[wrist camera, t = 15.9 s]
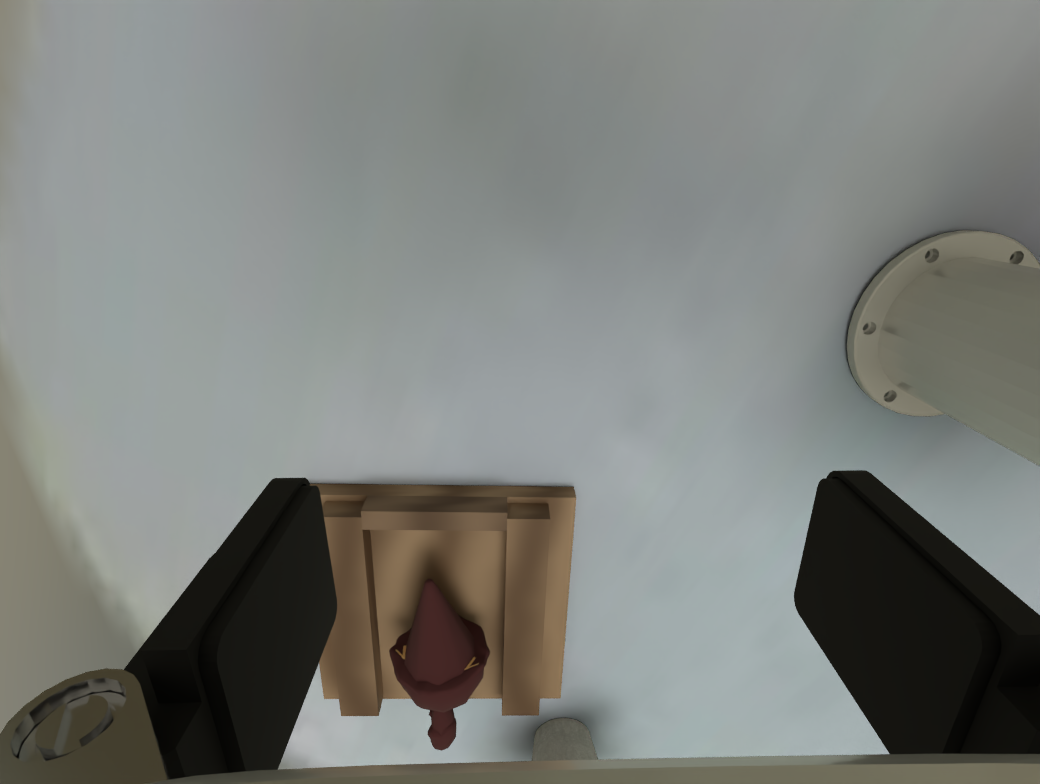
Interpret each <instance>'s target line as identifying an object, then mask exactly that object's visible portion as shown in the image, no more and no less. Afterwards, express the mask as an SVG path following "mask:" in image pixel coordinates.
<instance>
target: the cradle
mask: <svg viewBox="0 0 1040 784" xmlns="http://www.w3.org/2000/svg"><path fill="white" fill-rule="evenodd" d="M310 486H317V487H318V488H319V491H320V496H321V502H322V508H323V514H324V521H325V527H326V533H327V540H328V546H329V552H330V559H331V565H332V571H333V578H334V584H335V590H336V597H337V614H336V619H335V622H334V625H333V627H332V630H331V632H330V635H329V638H328V640H327V643H326V645H325V648H324V651H323V653H322V656H321V658H320V661H319V664H320V672H321V679H322V687H323V694H324V699H339V702H340V710H341V716H379V712H380V708H381V703H382V699H411V697H410V696H409V695H408V693H407V692H406V691H405V690H404V689H403V687H402V686H401V684H400V683H399V682H398V681H397V679H396V676H395V673H394V667H393V664H392V661H391V658H390V653H389V650H390V648H391V647H393V646H394V645H395V644H396V640H397V638H398V637H399V636H400V635H402V634H404V633H405V632H407V631H408V630H409V629H410V628H411V627H412V624H413V621H414V617H415V614H416V610H417V607H418V604H419V600H420V597H421V593H422V589H423V586H424V583H425V581H426V580H427V579H432V580H433V581H434V582H435V583H436V585H437V586H438V587H439V589H440V590H441V592H442V593H443V595H444V596H445V598H446V599H447V601H448V602H449V603H450V605H451V606H452V608H453V609H454V610H455V612H456V613H457V614H458V615H459V616H461V617H463V618H464V619H466V620H469V621H471V622H473V623H476V624H477V625H479V626H481V628H482V629H483V631H484V635H485V639H486V643H487V646H488V648H489V650H490V655H489V657H488V659H487V664H486V666H485V667H484V675H483V679H482V680H481V682H480V683H479V685H478V686H477V688H476V689H475V690H474V692H473V693H472V695H471V696H470V698H502V715H539V702H540V698H560V696H561V684H562V671H563V658H564V646H565V633H566V620H567V607H568V595H569V582H570V569H571V557H572V544H573V531H574V519H575V506H576V495H575V490H574V487H542V486H459V485H376V484H310Z"/></svg>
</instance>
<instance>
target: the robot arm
mask: <svg viewBox="0 0 1040 784" xmlns="http://www.w3.org/2000/svg"><path fill="white" fill-rule="evenodd" d="M847 354H848V362H849V365H850V368H851V372H852V375H853V377H854V378H855V380H856V382H857V383H858V385H859V386H860V388H861V389H862V390H863V391H864V392H865V393H866V394H867V395H868V396H869V397H870V398H871V399H873V400H874V401H876V402H877V403H879V404H880V405H882V406H884V407H886V408H888V409H890V410H892V411H895V412H897V413H900V414H905V415H910V416H936V415H943V414H946V415H948V416H950V417H952V418H953V419H955V420H957V421H959V422H961V423H962V424H964V425H966V426H968V427H970V428H971V429H973V430H975V431H977V432H979V433H980V434H982V435H984V436H986V437H988V438H989V439H991V440H993V441H995V442H997V443H998V444H1000V445H1002V446H1004V447H1006V448H1008V449H1009V450H1011V451H1013V452H1015V453H1017V454H1018V455H1020V456H1022V457H1024V458H1026V459H1027V460H1029V461H1031V462H1033V463H1035V464H1036V465H1038V466H1040V264H1039V262H1038V260H1037V259H1036V258H1035V257H1034V256H1033V254H1032V253H1031V252H1030V251H1029V249H1027V248H1026V247H1024V246H1023V245H1022V244H1020V243H1019V242H1017V241H1016V240H1014V239H1011V238H1009V237H1006V236H1004V235H1001V234H997V233H991V232H985V231H969V230H961V231H955V232H949V233H943V234H940V235H937V236H934V237H931V238H929V239H926V240H923V241H921V242H920V243H918V244H916V245H914V246H912V247H910V248H909V249H907V250H905V251H904V252H902V253H901V254H900V255H898V256H897V257H896V258H895V259H893V260H892V261H891V262H889V263H888V264H887V265H886V266H885V267H884V268H883V269H882V270H881V271H880V272H879V273H878V274H877V276H876V277H875V278H874V279H873V280H872V282H871V283H870V284H869V286H868V287H867V289H866V290H865V291H864V293H863V294H862V296H861V298H860V300H859V302H858V304H857V306H856V308H855V310H854V313H853V316H852V319H851V323H850V326H849V330H848V339H847ZM794 601H795V606H796V609H797V611H798V613H799V615H800V617H801V618H802V620H803V621H804V623H805V624H806V626H807V627H808V629H809V630H810V632H811V634H812V635H813V637H814V638H815V640H816V641H817V643H818V644H819V646H820V647H821V649H822V650H823V652H824V653H825V655H826V657H827V658H828V660H829V661H830V663H831V664H832V666H833V667H834V669H835V670H836V672H837V673H838V675H839V677H840V678H841V680H842V681H843V683H844V684H845V686H846V687H847V689H848V690H849V692H850V693H851V695H852V696H853V698H854V700H855V701H856V703H857V704H858V706H859V707H860V709H861V710H862V712H863V713H864V715H865V716H866V718H867V719H868V721H869V723H870V724H871V726H872V727H873V729H874V730H875V732H876V733H877V735H878V736H879V738H880V739H881V741H882V743H883V744H884V746H885V747H886V749H887V750H888V752H889V753H890V754H881V755H813V756H749V757H699V758H649V759H603V760H557V761H518V762H481V763H444V764H406V765H370V766H347V767H325V768H302V769H280V770H278V767H279V764H280V762H281V759H282V757H283V754H284V752H285V749H286V746H287V744H288V741H289V739H290V736H291V733H292V731H293V728H294V726H295V723H296V720H297V718H298V715H299V713H300V710H301V708H302V705H303V702H304V700H305V697H306V695H307V692H308V689H309V687H310V684H311V682H312V679H313V676H314V674H315V671H316V669H317V666H318V664H319V661H320V658H321V656H322V653H323V651H324V648H325V645H326V643H327V640H328V638H329V635H330V632H331V630H332V627H333V625H334V622H335V619H336V614H337V597H336V590H335V584H334V578H333V571H332V565H331V559H330V552H329V546H328V540H327V533H326V527H325V521H324V514H323V508H322V502H321V496H320V491H319V488H318V487H317V486H310V483H309V481H308V480H307V479H306V478H275V479H272V480H271V481H270V482H269V484H268V485H267V486H266V488H265V489H264V490H263V492H262V493H261V494H260V495H259V497H258V498H257V499H256V501H255V502H254V503H253V505H252V506H251V507H250V509H249V510H248V511H247V512H246V514H245V515H244V516H243V518H242V519H241V520H240V522H239V523H238V524H237V525H236V527H235V528H234V529H233V531H232V532H231V533H230V535H229V536H228V537H227V539H226V540H225V541H224V542H223V544H222V545H221V546H220V548H219V549H218V550H217V552H216V553H215V554H214V555H213V556H212V557H211V558H209V560H208V561H207V562H206V564H205V565H204V566H203V567H202V569H201V570H200V571H199V573H198V574H197V575H196V577H195V578H194V579H193V580H192V582H191V583H190V584H189V586H188V587H187V588H186V590H185V591H184V592H183V593H182V595H181V596H180V597H179V599H178V600H177V601H176V602H175V604H174V605H173V606H172V608H171V609H170V610H169V612H168V613H167V614H166V615H165V617H164V618H163V619H162V621H161V622H160V623H159V625H158V626H157V627H156V628H155V630H154V631H153V632H152V634H151V635H150V636H149V638H148V639H147V640H146V641H145V643H144V644H143V645H142V647H141V648H140V649H139V650H138V652H137V653H136V654H135V656H134V657H133V658H132V660H131V661H130V662H129V664H128V665H127V666H126V668H125V669H124V670H122V669H108V668H106V669H100V670H95V671H89V672H85V673H82V674H80V675H77V676H74V677H72V678H69V679H66V680H64V681H62V682H60V683H58V684H57V685H55V686H53V687H51V688H49V689H47V690H45V691H44V692H42V693H41V694H40V695H38V696H37V697H35V698H34V699H33V700H32V701H30V702H29V703H27V704H26V705H25V706H23V708H21V709H20V711H18V712H17V714H15V715H14V717H12V718H11V720H9V721H8V723H7V724H6V726H5V727H4V729H3V730H2V732H1V733H0V784H1040V615H1039V614H1037V613H1036V612H1035V611H1034V610H1033V609H1031V608H1030V607H1029V606H1028V605H1027V604H1026V603H1024V602H1023V601H1022V600H1021V599H1020V598H1018V597H1017V596H1016V595H1015V594H1014V593H1012V592H1011V591H1010V590H1009V589H1008V588H1006V587H1005V586H1004V585H1003V584H1002V583H1001V582H999V581H998V580H997V579H996V578H995V577H993V576H992V575H991V574H990V573H989V572H987V571H986V570H985V569H984V568H983V567H981V566H980V565H979V564H978V563H977V562H976V561H974V560H973V559H972V558H971V557H970V556H968V555H967V554H966V553H965V552H964V551H962V550H961V549H960V548H959V547H958V546H957V545H955V544H954V543H953V542H952V541H951V540H949V539H948V538H947V537H946V536H945V535H943V534H942V533H941V532H940V531H939V530H937V529H936V528H935V527H934V526H933V525H932V524H930V523H929V522H928V521H927V520H926V519H924V518H923V517H922V516H921V515H920V514H918V513H917V512H916V511H915V510H914V509H912V508H911V507H910V506H909V505H908V504H907V503H905V502H904V501H903V500H902V499H901V498H899V497H898V496H897V495H896V494H895V493H893V492H892V491H891V490H890V489H889V488H887V487H886V486H885V485H884V484H883V483H882V482H880V481H879V480H878V479H877V478H876V477H874V476H873V475H872V474H871V473H869V472H867V471H862V470H860V471H832V472H830V473H829V475H828V476H827V478H826V479H822V480H821V481H820V482H819V484H818V487H817V492H816V496H815V501H814V505H813V510H812V514H811V519H810V523H809V528H808V533H807V537H806V542H805V546H804V551H803V555H802V560H801V564H800V569H799V573H798V578H797V582H796V587H795V592H794Z"/></svg>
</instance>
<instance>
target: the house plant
mask: <svg viewBox="0 0 1040 784" xmlns="http://www.w3.org/2000/svg"><path fill="white" fill-rule="evenodd" d="M557 760H598V758H597V755H596V752H595V749H594V746H593V743H592V739H591V736H590V733H589V731H588V729H587V727H586V726H585V725H584V724H582V723H581V722H579V721H577V720H574V719H570V718H558V719H553V720H550V721H547V722H546V723H544V724H543V725H541V726H540V727H539V728H538V729H537V731H536V733H535V737H534V746H533V755H532V761H557Z"/></svg>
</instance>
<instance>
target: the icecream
mask: <svg viewBox="0 0 1040 784" xmlns="http://www.w3.org/2000/svg"><path fill="white" fill-rule="evenodd" d="M389 653H390V658H391V661H392V664H393V667H394V673H395V676H396V679H397V681H398V682H399V683H400V684H401V686H402V687H403V689H404V690H405V691H406V692H407V693H408V695H409V696H410V697H411V699H412V700H413V701H414V703H415V704H416V705H417V706H419V707H421V708H423V709H428V710H430V713H429V715H430V716H431V720H432V725H431V726H430V728H429V730H428V736H429V737H430V739H431V743H432V745H433V747H434V748H435V749H438V750H444V749H446V748H448V747H449V746H450V745H451V743H452V742H453V740H454V739H455V737H456V719H455V718H454V713H453V708H456V707H458V706H460V705H463V704H465V703H466V702H467V701H468V699H469V698H470V696H471V695H472V693H473V692H474V690H475V689H476V688H477V686H478V685H479V683H480V682H481V680H482V679H483V675H484V667H485V666H486V664H487V659H488V657H489V655H490V650H489V648H488V646H487V643H486V639H485V635H484V631H483V629H482V628H481V626H479V625H477V624H476V623H473V622H471V621H469V620H466V619H464V618H463V617H461V616H459V615H458V614H457V613H456V612H455V610H454V609H453V608H452V606H451V605H450V603H449V602H448V601H447V599H446V598H445V596H444V595H443V593H442V592H441V590H440V589H439V587H438V586H437V585H436V583H435V582H434V581H433V580H432V579H427V580H426V581H425V583H424V586H423V589H422V593H421V597H420V600H419V604H418V607H417V610H416V614H415V617H414V621H413V624H412V627H411V628H410V629H409V630H408V631H407V632H405V633H404V634H402V635H400V636H399V637H398V638H397V640H396V644H395V645H394V646H393V647H391V648H390V650H389Z"/></svg>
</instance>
